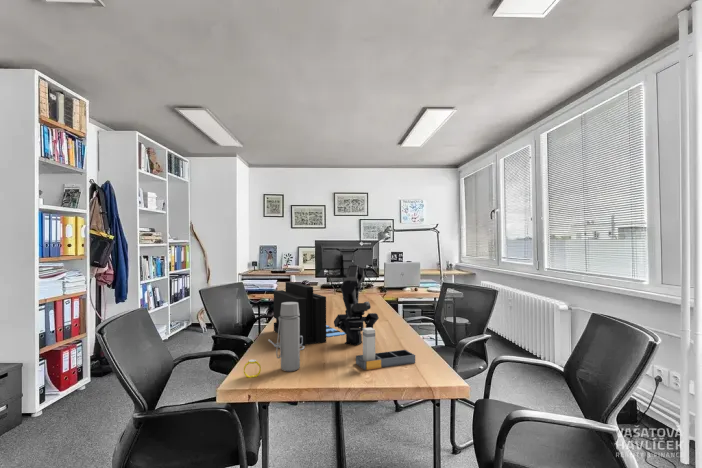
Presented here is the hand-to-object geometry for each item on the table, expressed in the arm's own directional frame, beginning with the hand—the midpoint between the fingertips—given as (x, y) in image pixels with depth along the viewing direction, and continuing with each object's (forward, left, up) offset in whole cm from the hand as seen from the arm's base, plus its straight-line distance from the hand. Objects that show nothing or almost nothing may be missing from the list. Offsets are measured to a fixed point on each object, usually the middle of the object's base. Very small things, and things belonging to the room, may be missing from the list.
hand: (362, 338), depth 157 cm
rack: (+10, -1, -9) cm, 14 cm away
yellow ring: (-28, -34, -9) cm, 45 cm away
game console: (-42, +28, -9) cm, 51 cm away
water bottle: (-21, -22, -9) cm, 32 cm away
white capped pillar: (+6, -6, -9) cm, 12 cm away
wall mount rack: (-38, 0, -9) cm, 39 cm away
